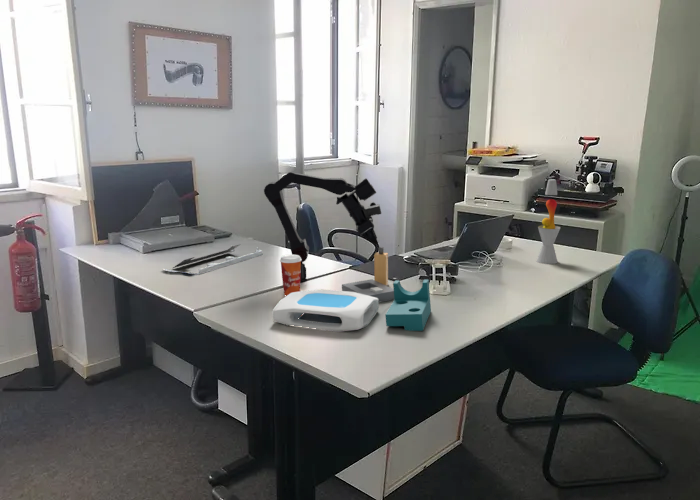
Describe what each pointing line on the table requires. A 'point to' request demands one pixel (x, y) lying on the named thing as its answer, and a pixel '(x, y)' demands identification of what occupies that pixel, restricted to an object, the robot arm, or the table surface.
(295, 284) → the paper cup
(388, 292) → the socket plate
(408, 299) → the teal l-shaped bracket
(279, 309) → the document scanner
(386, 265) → the plug
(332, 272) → the table surface
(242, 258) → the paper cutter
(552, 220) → the lava lamp
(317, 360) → the table surface
